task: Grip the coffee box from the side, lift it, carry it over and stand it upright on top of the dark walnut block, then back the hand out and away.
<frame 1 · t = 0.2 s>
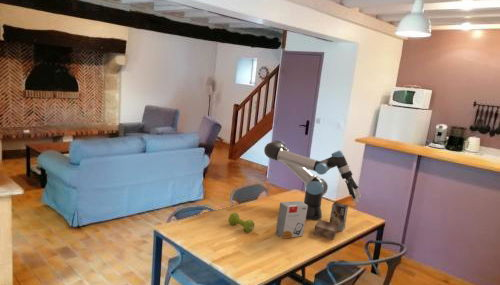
hand: (358, 200, 246), 15 cm above the table, tool tilted 35°, fingers open, 13 cm apart
coffee box: (336, 228, 232), on the table
walnut block: (325, 234, 221), on the table
hard drive box: (289, 234, 214), on the table
dumbbell: (240, 228, 215), on the table
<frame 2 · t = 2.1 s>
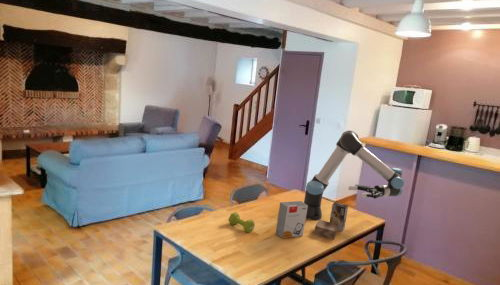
hand: (355, 191, 231), 25 cm above the table, tool horizontal, fingers open, 13 cm apart
nothing on the table moved.
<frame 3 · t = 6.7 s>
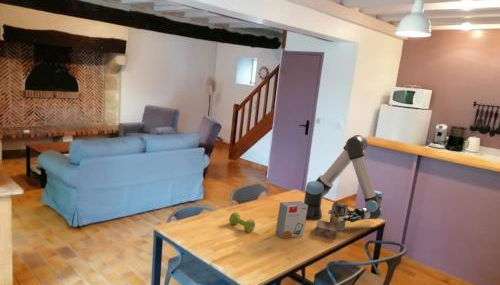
hand: (333, 215, 229), 9 cm above the table, tool horizontal, fingers closed on coffee box, 11 cm apart
coffee box: (336, 227, 232), on the table, touching gripper
everything else where it was.
when the fingers open (16 cm above the table, at t = 11.9 s): coffee box drops 2 cm, point 5 cm above the table.
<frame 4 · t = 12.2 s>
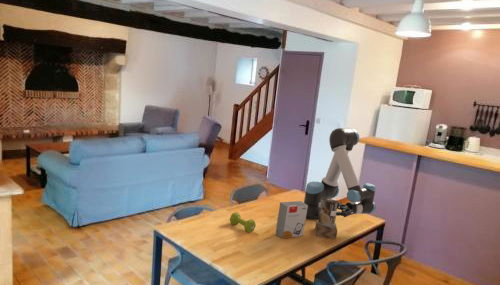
hand: (324, 209, 217), 16 cm above the table, tool horizontal, fingers open, 13 cm apart
coffee box: (326, 224, 221), point 5 cm above the table
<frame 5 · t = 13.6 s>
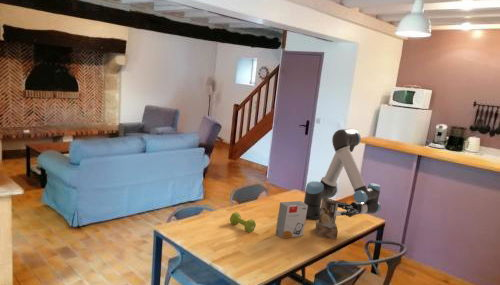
hand: (329, 208, 217), 16 cm above the table, tool horizontal, fingers open, 13 cm apart
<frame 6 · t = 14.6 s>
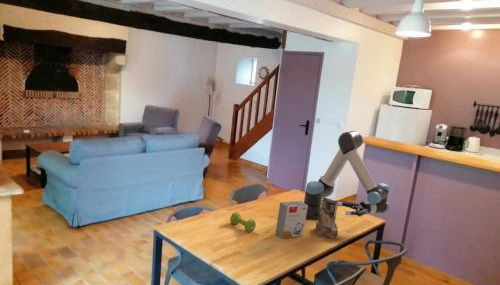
hand: (339, 208, 220), 16 cm above the table, tool horizontal, fingers open, 13 cm apart
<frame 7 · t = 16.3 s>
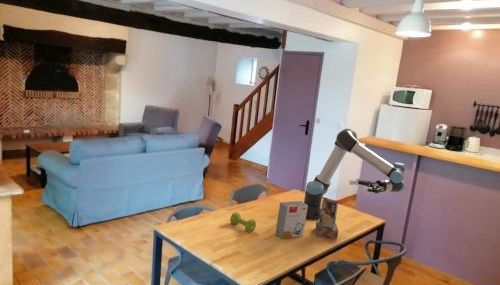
hand: (356, 185, 224), 30 cm above the table, tool horizontal, fingers open, 13 cm apart
coffee box: (326, 225, 220), point 5 cm above the table, touching walnut block
walnut block: (325, 234, 221), on the table, touching coffee box
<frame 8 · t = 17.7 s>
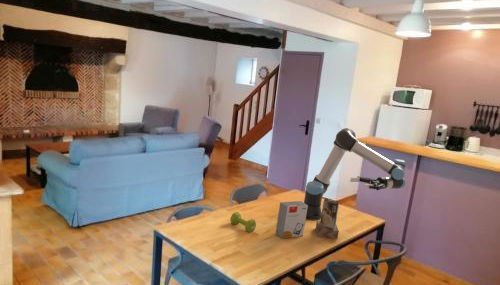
hand: (357, 183, 224), 32 cm above the table, tool horizontal, fingers open, 13 cm apart
coffee box: (327, 225, 220), point 5 cm above the table
walnut block: (326, 234, 221), on the table
at the end: coffee box inside the target area on the walnut block (0.4 cm from its centre), point 5.9 cm above the walnut block's base; coffee box tilted 2°; the gripper is holding nothing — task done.
